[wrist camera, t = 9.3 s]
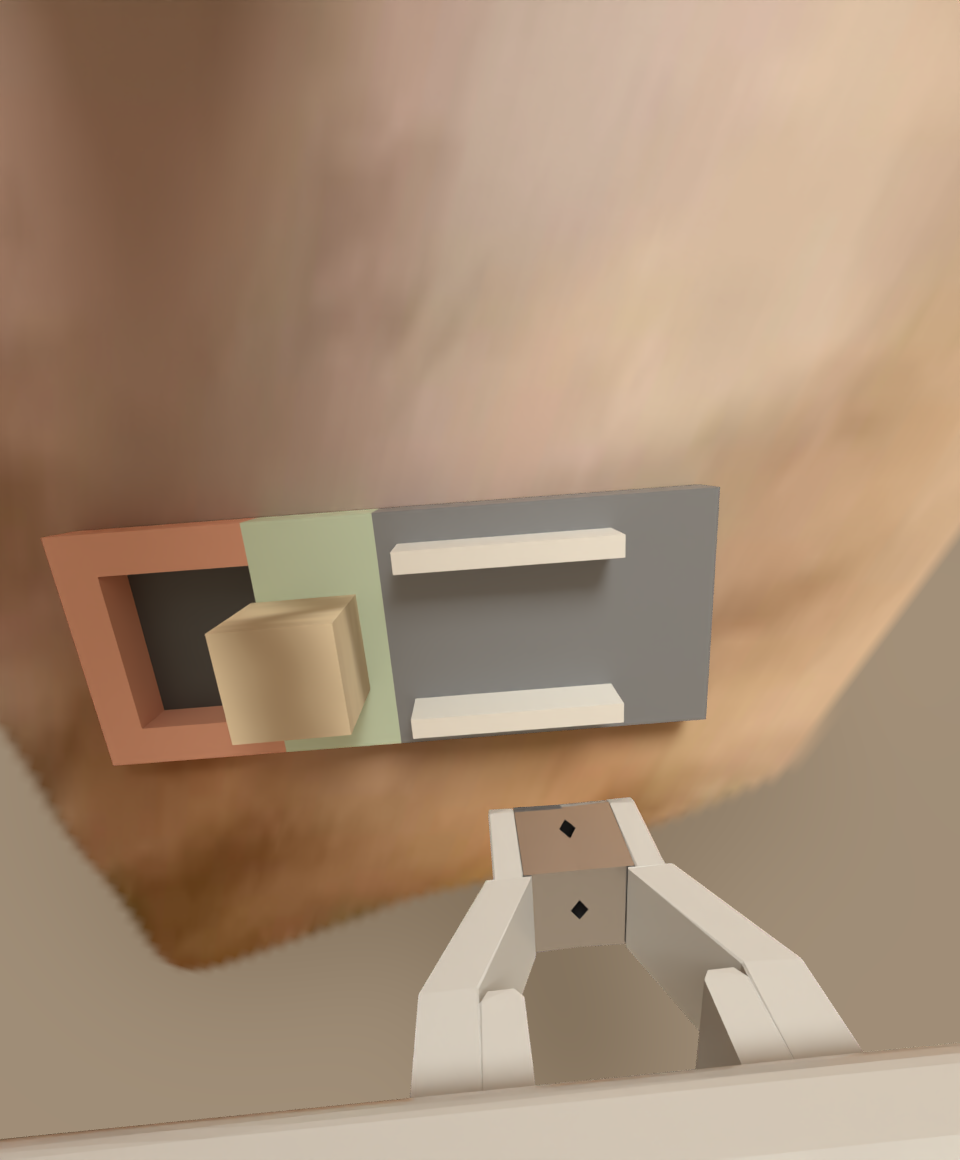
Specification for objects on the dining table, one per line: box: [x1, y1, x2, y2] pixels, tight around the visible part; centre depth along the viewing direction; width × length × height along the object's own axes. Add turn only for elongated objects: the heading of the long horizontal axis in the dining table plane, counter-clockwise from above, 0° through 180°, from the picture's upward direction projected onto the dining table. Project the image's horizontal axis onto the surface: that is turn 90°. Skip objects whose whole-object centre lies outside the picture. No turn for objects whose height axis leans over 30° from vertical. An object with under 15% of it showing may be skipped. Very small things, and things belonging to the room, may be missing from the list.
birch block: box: [205, 594, 370, 745], centre depth 21 cm, size 5×5×4 cm
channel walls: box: [390, 528, 626, 739], centre depth 22 cm, size 10×9×2 cm
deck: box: [41, 485, 720, 766], centre depth 24 cm, size 31×12×2 cm, turn 94°
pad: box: [240, 509, 401, 752], centre depth 24 cm, size 6×12×2 cm, turn 4°
